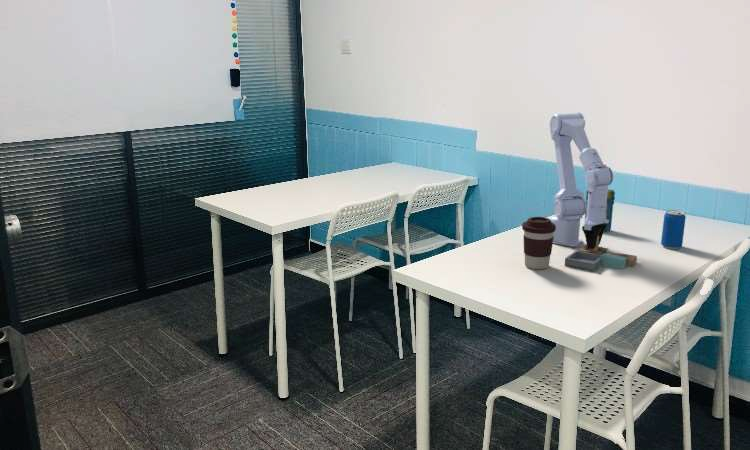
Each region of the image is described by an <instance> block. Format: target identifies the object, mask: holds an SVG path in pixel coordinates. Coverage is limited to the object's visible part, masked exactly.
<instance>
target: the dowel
mask: <svg viewBox="0 0 750 450" xmlns="http://www.w3.org/2000/svg"><path fill="white" fill-rule="evenodd" d="M599 246H600V244H599V235H598V237H597V241H596V246H595V248H594V249H590V248H588V250H589V251H595V252H598V247H599Z"/></svg>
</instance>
